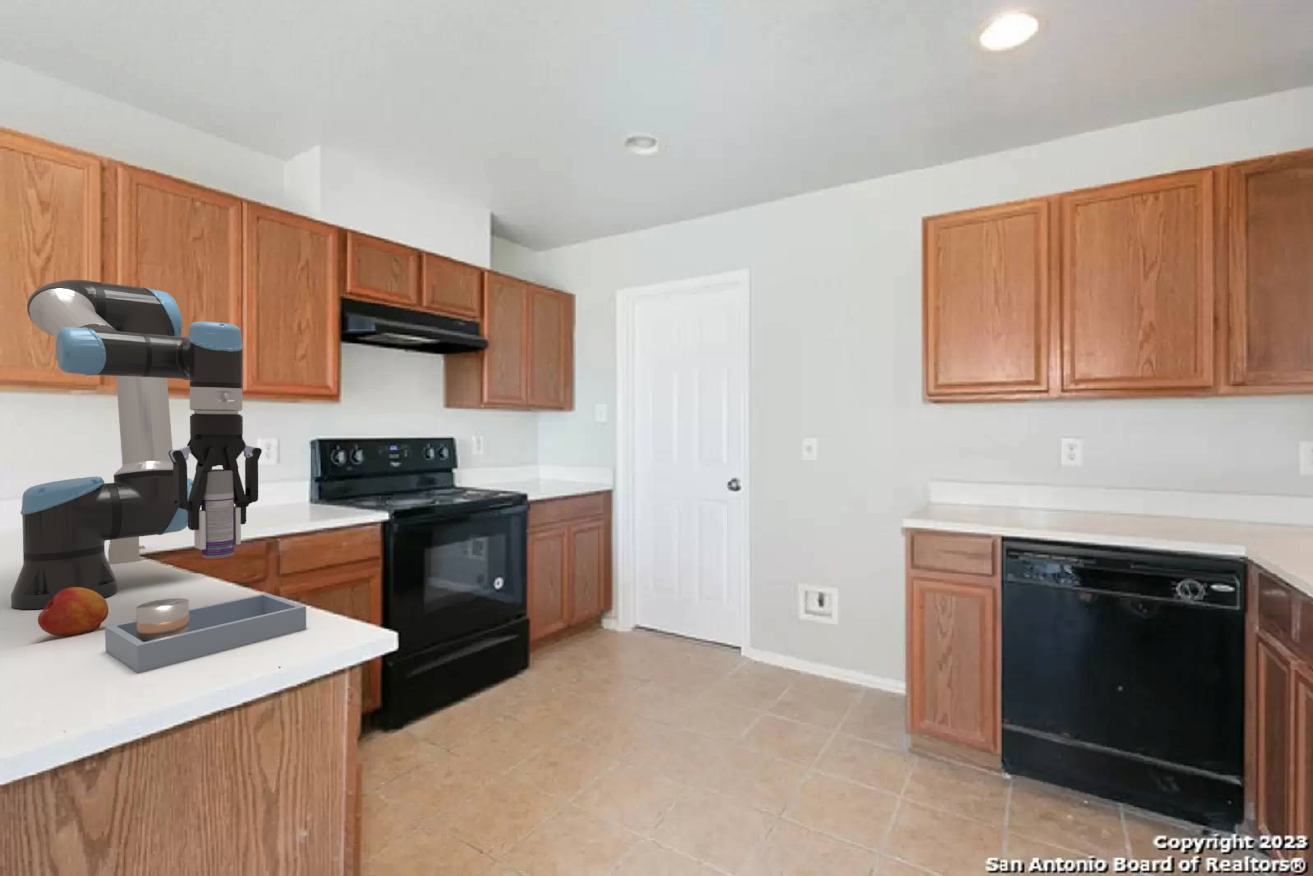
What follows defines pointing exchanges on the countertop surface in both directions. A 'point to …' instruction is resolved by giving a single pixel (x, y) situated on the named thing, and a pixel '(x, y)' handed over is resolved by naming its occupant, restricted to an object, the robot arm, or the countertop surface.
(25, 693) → the countertop surface
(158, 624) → the tin
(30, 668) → the countertop surface
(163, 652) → the tray
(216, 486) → the container
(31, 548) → the robot arm
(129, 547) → the architectural model
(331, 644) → the countertop surface
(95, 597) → the fruit
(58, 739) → the countertop surface
